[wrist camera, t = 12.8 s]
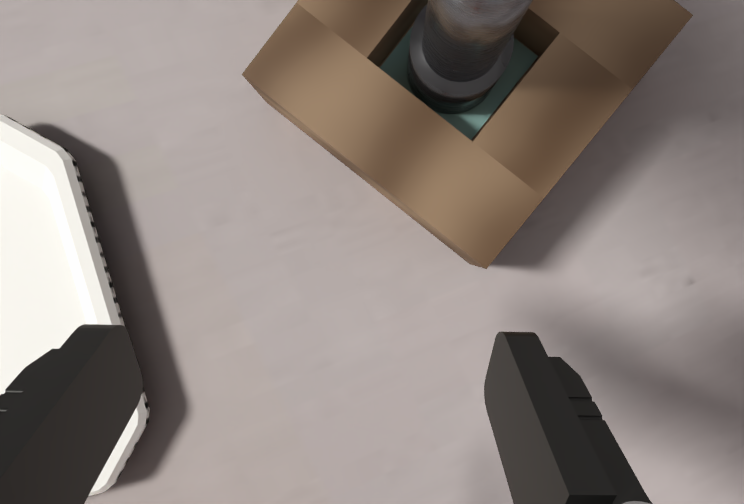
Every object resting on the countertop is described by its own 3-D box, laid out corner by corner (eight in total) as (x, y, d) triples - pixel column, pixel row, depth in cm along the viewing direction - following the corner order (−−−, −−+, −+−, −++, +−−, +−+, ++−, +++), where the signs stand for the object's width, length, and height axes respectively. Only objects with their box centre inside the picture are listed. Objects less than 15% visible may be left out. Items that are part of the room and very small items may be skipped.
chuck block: (266, 102, 24) (241, 74, 20) (429, -110, 23) (437, -184, 19) (469, 263, 23) (486, 268, 19) (639, 54, 23) (693, 15, 19)
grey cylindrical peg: (389, 77, 22) (389, -90, 11) (444, 6, 22) (503, -238, 11) (458, 132, 22) (529, 20, 11) (514, 61, 21) (646, -127, 10)
